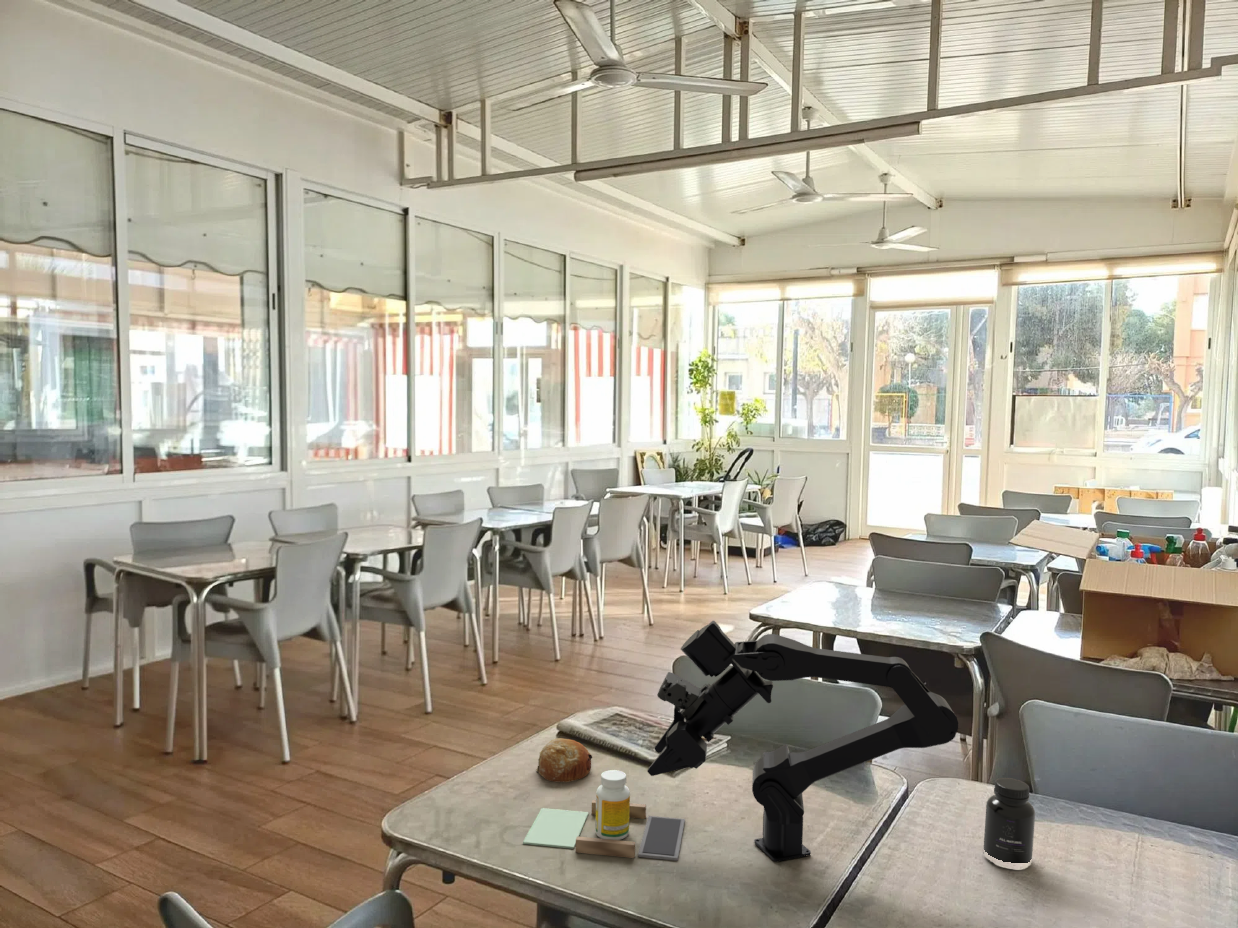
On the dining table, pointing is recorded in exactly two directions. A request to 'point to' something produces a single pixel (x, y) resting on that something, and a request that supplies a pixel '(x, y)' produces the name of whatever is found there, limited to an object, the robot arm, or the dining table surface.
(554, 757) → the bread roll
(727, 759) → the dining table surface
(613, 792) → the supplement bottle
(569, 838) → the pad
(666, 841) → the pit rectangle
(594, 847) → the walnut channel
